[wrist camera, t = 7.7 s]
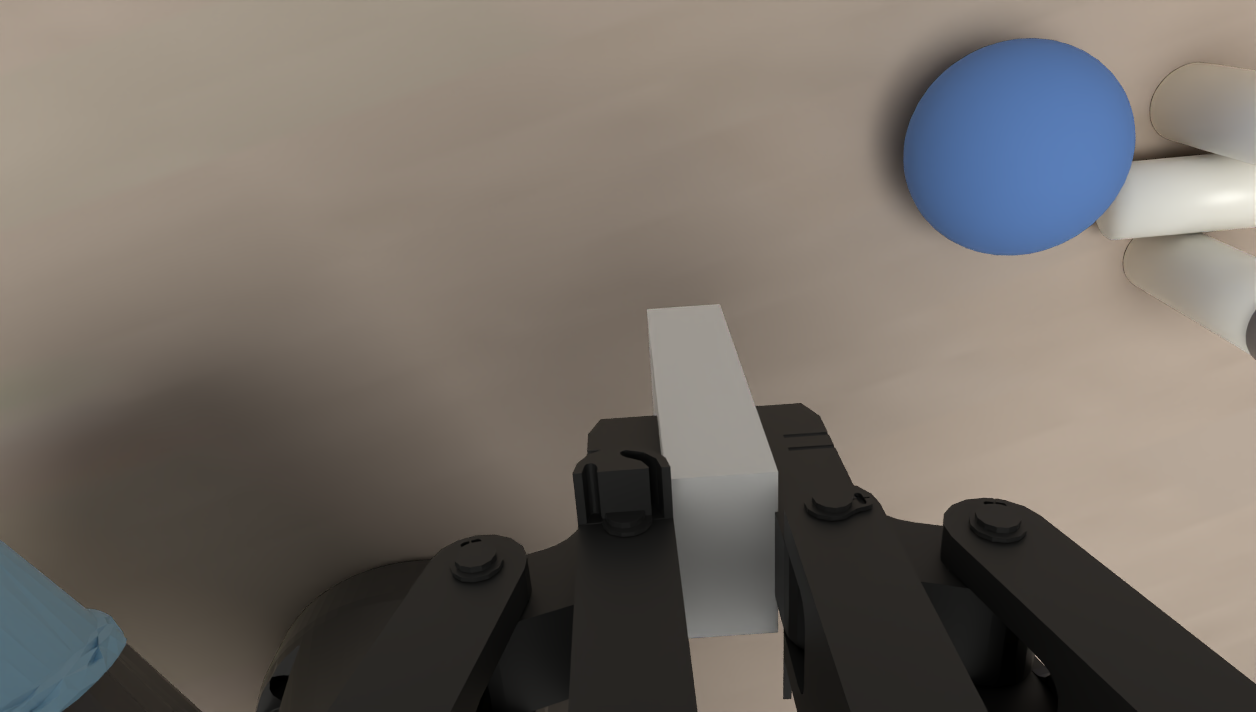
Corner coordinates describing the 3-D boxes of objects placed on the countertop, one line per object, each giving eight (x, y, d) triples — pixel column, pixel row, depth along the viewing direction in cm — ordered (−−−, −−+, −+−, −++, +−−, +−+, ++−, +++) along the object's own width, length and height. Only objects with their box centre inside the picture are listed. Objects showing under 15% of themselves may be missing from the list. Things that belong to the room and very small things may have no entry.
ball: (1089, 224, 20) (871, 267, 25) (1180, 240, 24) (977, 274, 28) (1063, -25, 20) (853, 63, 25) (1158, 30, 24) (960, 98, 29)
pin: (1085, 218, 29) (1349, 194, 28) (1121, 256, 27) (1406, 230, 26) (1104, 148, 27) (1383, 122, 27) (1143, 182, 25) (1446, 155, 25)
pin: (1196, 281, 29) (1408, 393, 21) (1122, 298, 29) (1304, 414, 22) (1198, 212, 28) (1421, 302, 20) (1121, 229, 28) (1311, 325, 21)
